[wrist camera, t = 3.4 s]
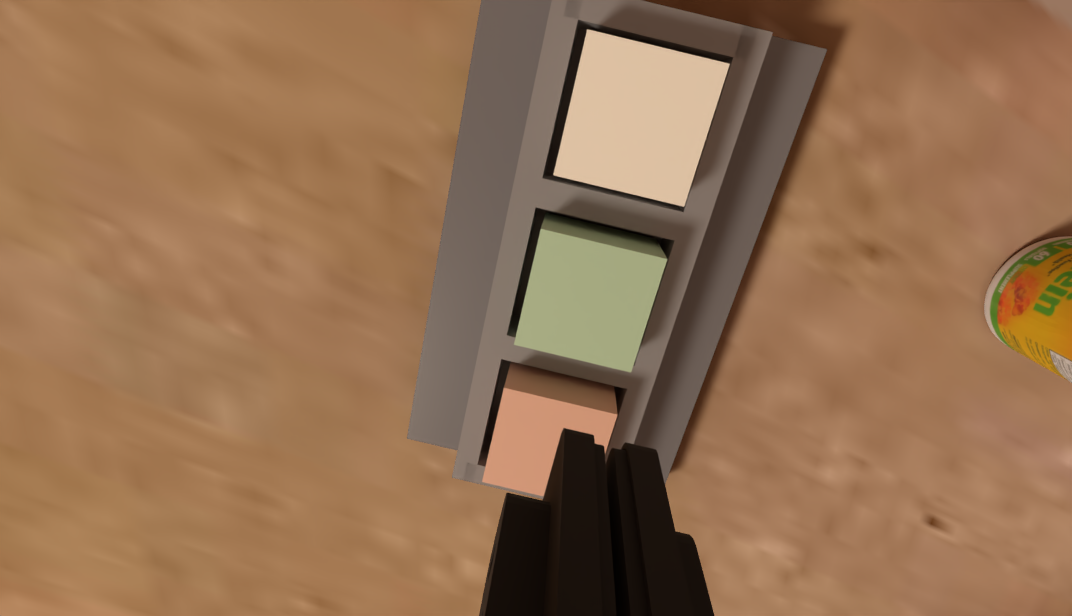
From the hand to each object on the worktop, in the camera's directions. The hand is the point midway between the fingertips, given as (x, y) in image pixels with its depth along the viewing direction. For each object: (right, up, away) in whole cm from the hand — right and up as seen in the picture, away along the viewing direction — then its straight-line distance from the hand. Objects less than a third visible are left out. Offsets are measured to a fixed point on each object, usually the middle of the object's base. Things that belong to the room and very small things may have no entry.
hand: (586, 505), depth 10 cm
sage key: (+1, +5, +14) cm, 15 cm away
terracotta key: (0, -1, +16) cm, 16 cm away
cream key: (+3, +11, +11) cm, 16 cm away
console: (+1, +6, +16) cm, 17 cm away
